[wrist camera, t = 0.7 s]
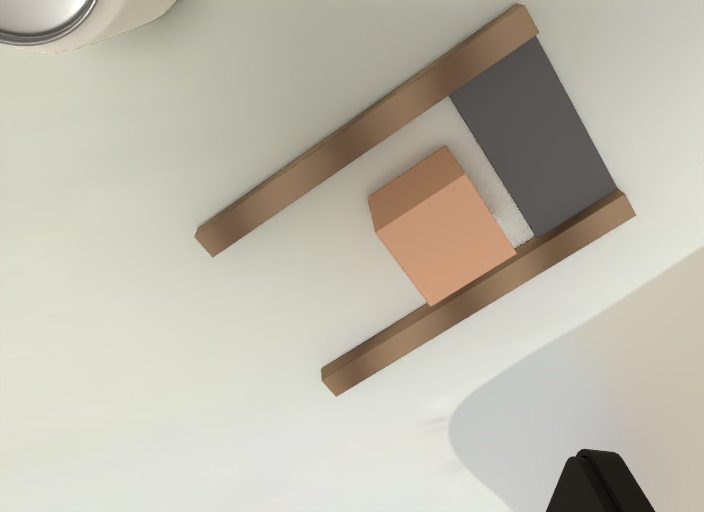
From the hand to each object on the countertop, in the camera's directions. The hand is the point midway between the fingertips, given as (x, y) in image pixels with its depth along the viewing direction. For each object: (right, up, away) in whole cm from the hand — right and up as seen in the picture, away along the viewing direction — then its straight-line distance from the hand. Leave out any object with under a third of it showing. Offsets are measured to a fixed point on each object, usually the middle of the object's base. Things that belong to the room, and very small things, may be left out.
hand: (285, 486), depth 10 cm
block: (+5, +6, +25) cm, 26 cm away
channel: (+5, +6, +25) cm, 26 cm away
